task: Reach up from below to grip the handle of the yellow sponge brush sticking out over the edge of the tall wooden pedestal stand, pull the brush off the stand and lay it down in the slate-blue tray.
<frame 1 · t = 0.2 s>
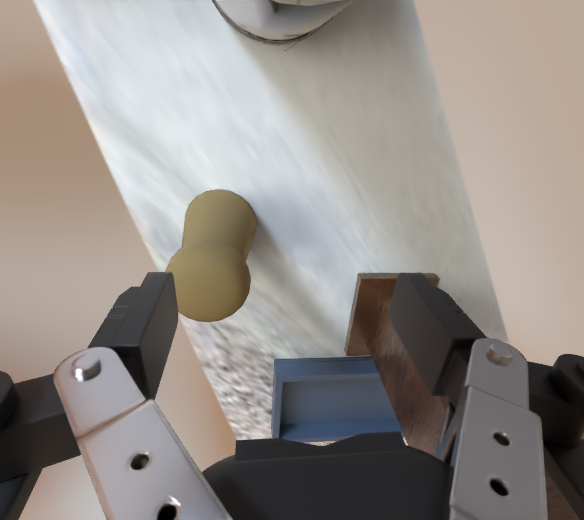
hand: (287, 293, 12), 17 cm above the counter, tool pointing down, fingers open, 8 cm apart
cork: (221, 222, 29), on the counter
wooden pedestal stand: (387, 313, 36), on the counter
tray: (352, 391, 41), on the counter
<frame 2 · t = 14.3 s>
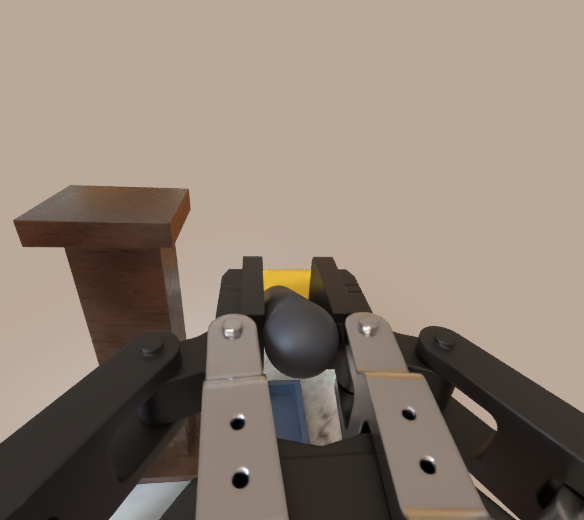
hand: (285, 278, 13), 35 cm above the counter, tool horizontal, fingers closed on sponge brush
wooden pedestal stand: (163, 448, 41), on the counter
sponge brush: (273, 326, 21), point 28 cm above the counter, tilted 30°, touching gripper
tray: (261, 458, 41), on the counter
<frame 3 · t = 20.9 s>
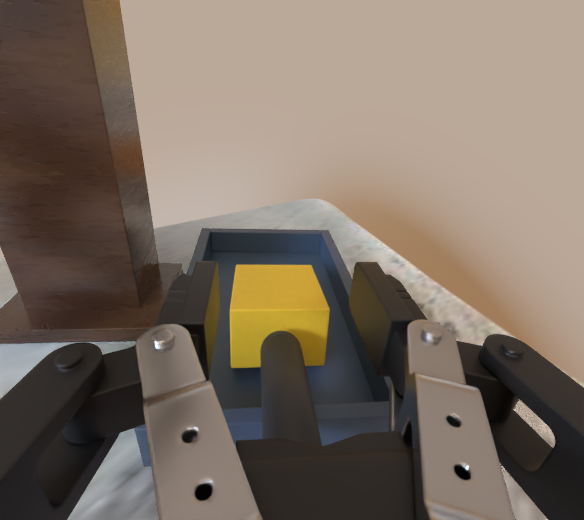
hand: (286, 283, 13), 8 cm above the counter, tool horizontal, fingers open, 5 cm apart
wooden pedestal stand: (99, 303, 24), on the counter
sponge brush: (275, 335, 21), point 1 cm above the counter, tilted 8°, touching tray
tray: (270, 318, 23), on the counter
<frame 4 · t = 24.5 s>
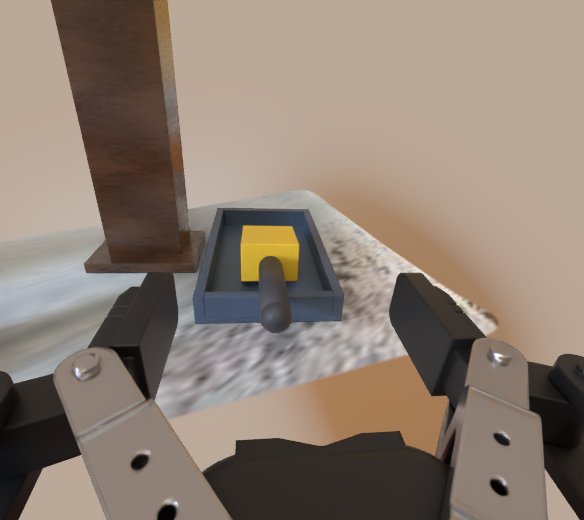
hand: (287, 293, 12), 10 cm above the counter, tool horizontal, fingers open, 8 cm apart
wooden pedestal stand: (152, 253, 36), on the counter
sponge brush: (268, 268, 32), point 1 cm above the counter, tilted 8°, touching tray
tray: (265, 262, 35), on the counter
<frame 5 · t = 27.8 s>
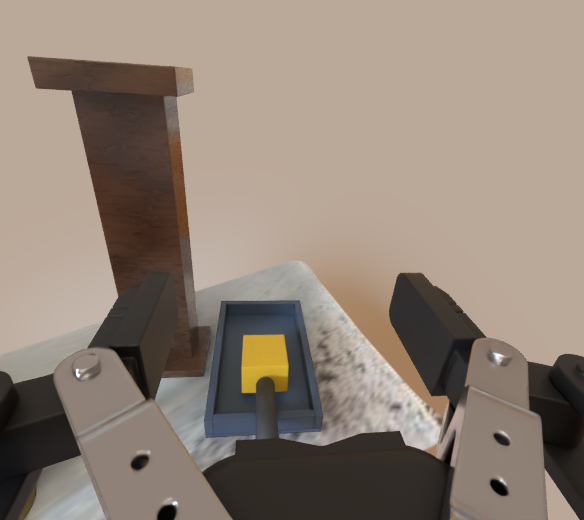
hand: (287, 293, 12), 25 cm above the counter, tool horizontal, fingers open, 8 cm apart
wooden pedestal stand: (167, 353, 43), on the counter
sponge brush: (264, 374, 39), point 1 cm above the counter, tilted 8°, touching tray
tray: (262, 362, 42), on the counter
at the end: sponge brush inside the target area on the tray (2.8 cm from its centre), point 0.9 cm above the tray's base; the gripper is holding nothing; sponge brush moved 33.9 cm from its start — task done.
